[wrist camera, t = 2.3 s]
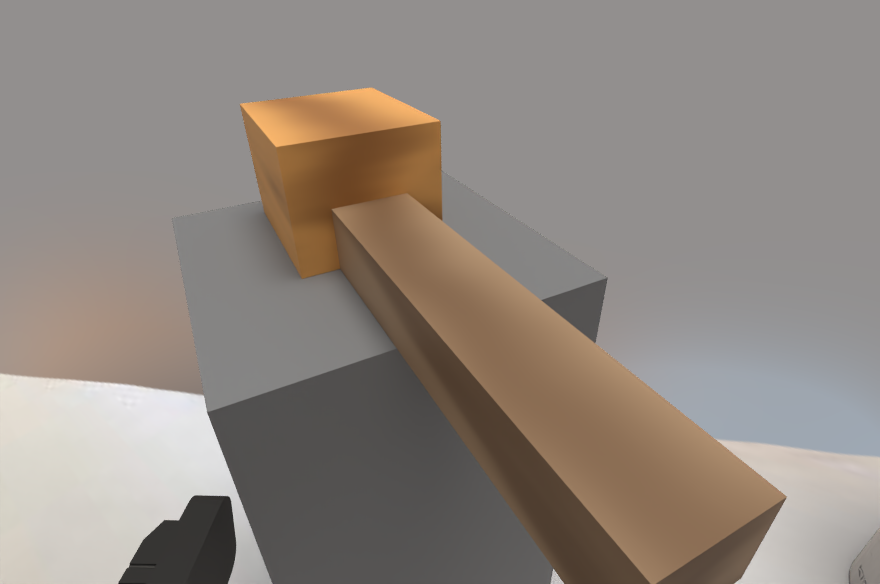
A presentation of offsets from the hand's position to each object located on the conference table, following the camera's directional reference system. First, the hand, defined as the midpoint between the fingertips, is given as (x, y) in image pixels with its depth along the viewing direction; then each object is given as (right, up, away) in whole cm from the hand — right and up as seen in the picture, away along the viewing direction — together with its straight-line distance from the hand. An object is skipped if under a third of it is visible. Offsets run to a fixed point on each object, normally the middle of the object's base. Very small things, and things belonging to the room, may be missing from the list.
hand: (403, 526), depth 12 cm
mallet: (0, +5, +5) cm, 7 cm away
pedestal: (-2, -19, +27) cm, 33 cm away
